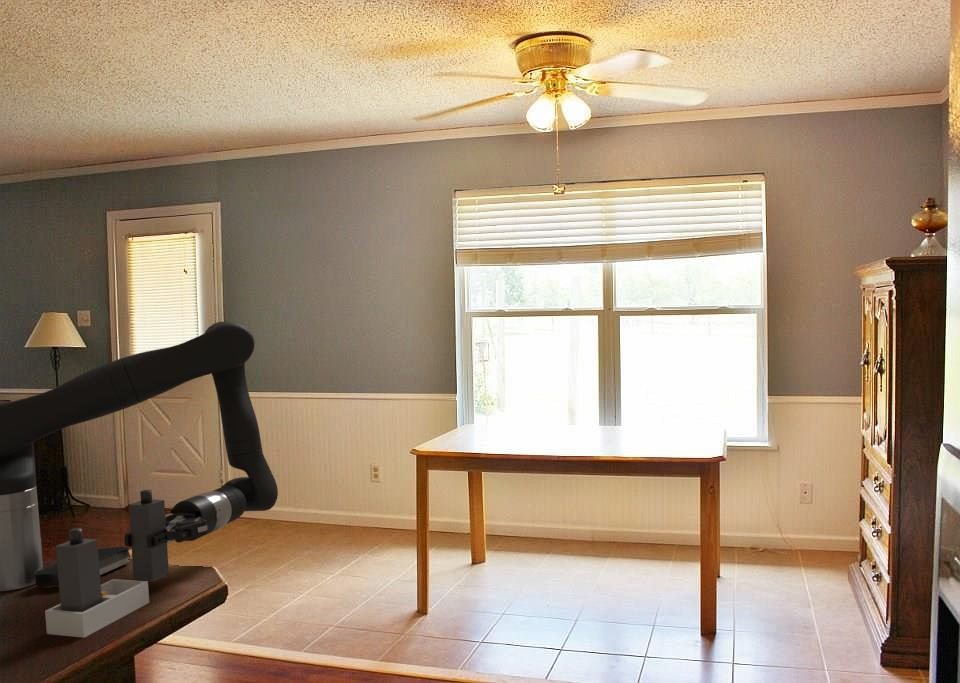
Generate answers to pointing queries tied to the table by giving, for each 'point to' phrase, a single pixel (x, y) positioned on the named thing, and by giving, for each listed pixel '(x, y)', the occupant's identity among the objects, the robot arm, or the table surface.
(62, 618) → the grey rectangular tray
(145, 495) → the plug
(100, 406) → the robot arm
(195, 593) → the table surface
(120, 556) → the black sponge
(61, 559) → the twin plug
